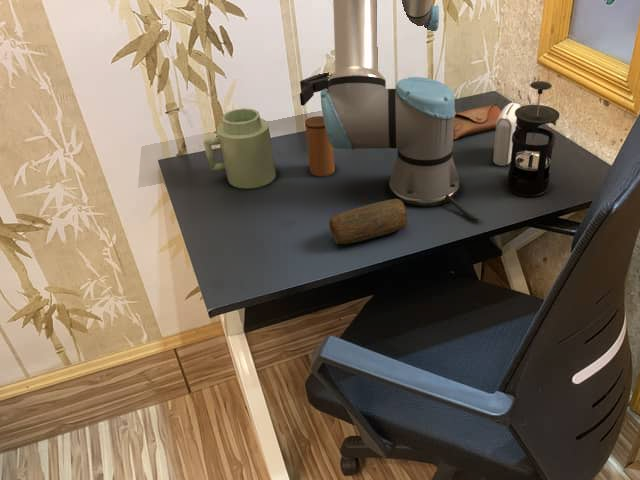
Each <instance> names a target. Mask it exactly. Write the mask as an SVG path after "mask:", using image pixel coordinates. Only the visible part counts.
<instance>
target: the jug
mask: <svg viewBox="0 0 640 480" xmlns="http://www.w3.org/2000/svg"><path fill="white" fill-rule="evenodd" d="M221 120H222V122H221V123H220V124H219V125H218V126H217V127H216V133H217V137H214V138H213V137H212V138H205V139H204V140H203V147H204V151H205V155H206V160H207V165H208V168H209V170H210V172H211V171H212V172H216V171H223V170H224V171H225V174H226V179H227V182H228V183H229V185H231V186H233V187H235V188H239V189H257V188H262V187H264V186H266V185H269V184H270V183H272V182H273V181H274V180H275V179H276V177H277V170H276V163H275V157H274V151H273V145H272V144H273V143H272V139H271V132H270V126H269V122H268V121H267V120H265V119H264V118H261V116H260V112H259V111H258V110H256V109H254V108H246V107H245V108H234V109H232V110H230V111H227V112H224V114H223V115H222V116H221ZM217 145H219V147H220V152H221V155H222V160H223V162H221V163H216V162H215V158H214V151H213V149H212V146H217Z"/></svg>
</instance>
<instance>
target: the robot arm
mask: <svg viewBox="0 0 640 480" xmlns="http://www.w3.org/2000/svg"><path fill="white" fill-rule="evenodd" d="M332 2H333V3H332V5H333V6H332V7H333V41H334V72H333V73H330V71H329V72H328V73H323V74H320V73H317V74H318V75H317V74H314V75H311V76H309V77H306V78H304V79H302V80H299V85H300V93H299V100H300V102H299V103H300V106H305V105H307V103H308V102H309V101H310V100H311V99H312V98H313V97H314V94H315V93H320V106H321V107H320V108H321V114H322V116H323V120H324V125H325V129H326V133H327V137H328V140H329V142H330V144H331V145H332V146H333V148H335V149H345V150H352V151H354V150H358V149H360V150H361V149H362V150H363V149H364V150H365V149H369V150H370V149H371V150H372V149H397V157H396V160H395V163H394V167H393V169H392V173H391V175H390V178H389V192H390V194H391V196H392V197H393V199H399V200H401V201H402V202H403V204H404V205H409V206H413V207H421V208H428V207H430V208H431V207H437V206H443V205H445V204H447V203H449V202H450V203H451V204H452V205H454V206H455V208H457V209H458V210H459V211H460V212H461V213H462V214H463V215H465V216H466V217H468V218H469V219H471V220H472V221H474V222H477V223H478V222H479V218H478V217H477V216H475V215H473V214H471V213H470V212H469V211H468V210H466V209H465V208H464V207H463V206H462V205H461V204H459V202H457V200H455V199H456V197H457V196H458V195H459V193H460V186H461V185H460V177H459V174H458V171H457V168H456V164H455V160H454V157H453V156H454V155H453V151H454V139H453V130H454V117H455V113H456V109H455V94H454V92H453V90H452V89H451V88H450V87H449V86H448V85H446V84H445V83H443V82H441V81H438V80H436V79H433V78H428V77H421V76H410V77H407V78H406V77H405V78H402V79H400V80H398V81H397V83H396V85H395V88H387V83H386V81H387V80H386V78H385V77H384V76H383V75H382V74H381V73H380V71H379V68H378V47H377V0H332ZM402 4H403V7H404V11H405V12H406V15H407V17H408V18H409V20H410V21H411V22H412V23H414V24H416V25H417V26H423V25H424V27H425V28H427V30H431V31H435V32H437V31H438V29H439V21H440V6H438V5H436V6H434V7H432V0H402ZM329 73H330V74H331V75H329Z"/></svg>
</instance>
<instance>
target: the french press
mask: <svg viewBox="0 0 640 480" xmlns="http://www.w3.org/2000/svg"><path fill="white" fill-rule="evenodd" d="M529 86H530V87H531V88H532V89H534V90H537V95H538V97H537V104H525V105H522V106H521V107H519V108H517V109H516V111H515V116H516V117H517V118H516V124H517V126H516V128H515V131H514V132H513V134H512V143H513V145H512V154H511V162H510V163H509V164H510V165H509V168H508V171H507V180H506V182H505V188H506V189H507V191H508V192H510V193H511V194H513V195H515V196H518V197H521V198H522V197H523V198H539V197H542V196H544V195H545V194H547V193H548V192H549V190H550V177H551V173H550V168H551V167H550V166H551V163H552V154H553V148H554V147H555V145H556V140H557V135H556V133H554V132H553V131H552V130H550V129H547V128H544V127H540V126H543V125H547V124H548V125H549V124H552V125H553V126H554V127H556V126H557V121H558V120H559V119H560V116H561V115H560V112H559V111H558V110H556V109H555V108H553V107H551V106H547V105H542V104H540V103H541V102H540V101H541V95H542V94H543V93H544V91H547V90H550V89H551V88H552V83H550V82H548V81H542V80H537V81H532V82H531V83H530V84H529ZM528 134H533V135H532V141H531V144H528V143H527V137H528ZM536 134H540V135H543V136H546V137H548V141H547V143H545V144H535V138H536ZM519 179H533V180H535V182H525V181H521V180H519Z"/></svg>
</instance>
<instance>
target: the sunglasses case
mask: <svg viewBox="0 0 640 480" xmlns="http://www.w3.org/2000/svg"><path fill="white" fill-rule="evenodd" d="M501 111H502V110H501V109H500V107H498V103H493V104H491V105H486V106H482V107H476V108H471V109H467V110H463V111H458V112H455V117H454V130H453V140H458V139H462V138H464V137H468V136H473V135H477V134H481V133H488V132H492V131H496V123H497V119H498V117H499V115H500V113H501Z"/></svg>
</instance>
